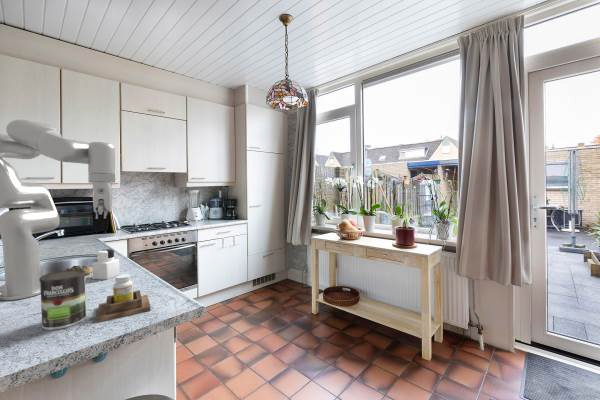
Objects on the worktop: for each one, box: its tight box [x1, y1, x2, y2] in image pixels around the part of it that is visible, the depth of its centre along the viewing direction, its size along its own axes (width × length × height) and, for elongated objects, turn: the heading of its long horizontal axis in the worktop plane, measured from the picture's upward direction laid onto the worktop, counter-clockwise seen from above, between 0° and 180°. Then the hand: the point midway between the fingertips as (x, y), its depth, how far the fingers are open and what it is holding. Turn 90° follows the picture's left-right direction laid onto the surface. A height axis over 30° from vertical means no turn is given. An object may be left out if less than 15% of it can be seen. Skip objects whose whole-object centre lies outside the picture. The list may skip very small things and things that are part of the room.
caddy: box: [96, 290, 152, 323], centre depth 91 cm, size 14×12×4 cm
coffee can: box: [39, 269, 88, 331], centre depth 82 cm, size 10×10×14 cm
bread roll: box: [65, 265, 93, 276], centre depth 127 cm, size 11×11×5 cm
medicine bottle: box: [91, 248, 121, 281], centre depth 123 cm, size 7×7×12 cm
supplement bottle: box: [112, 273, 134, 303], centre depth 90 cm, size 5×5×10 cm
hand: (102, 228), depth 97 cm, fingers open, 9 cm apart
